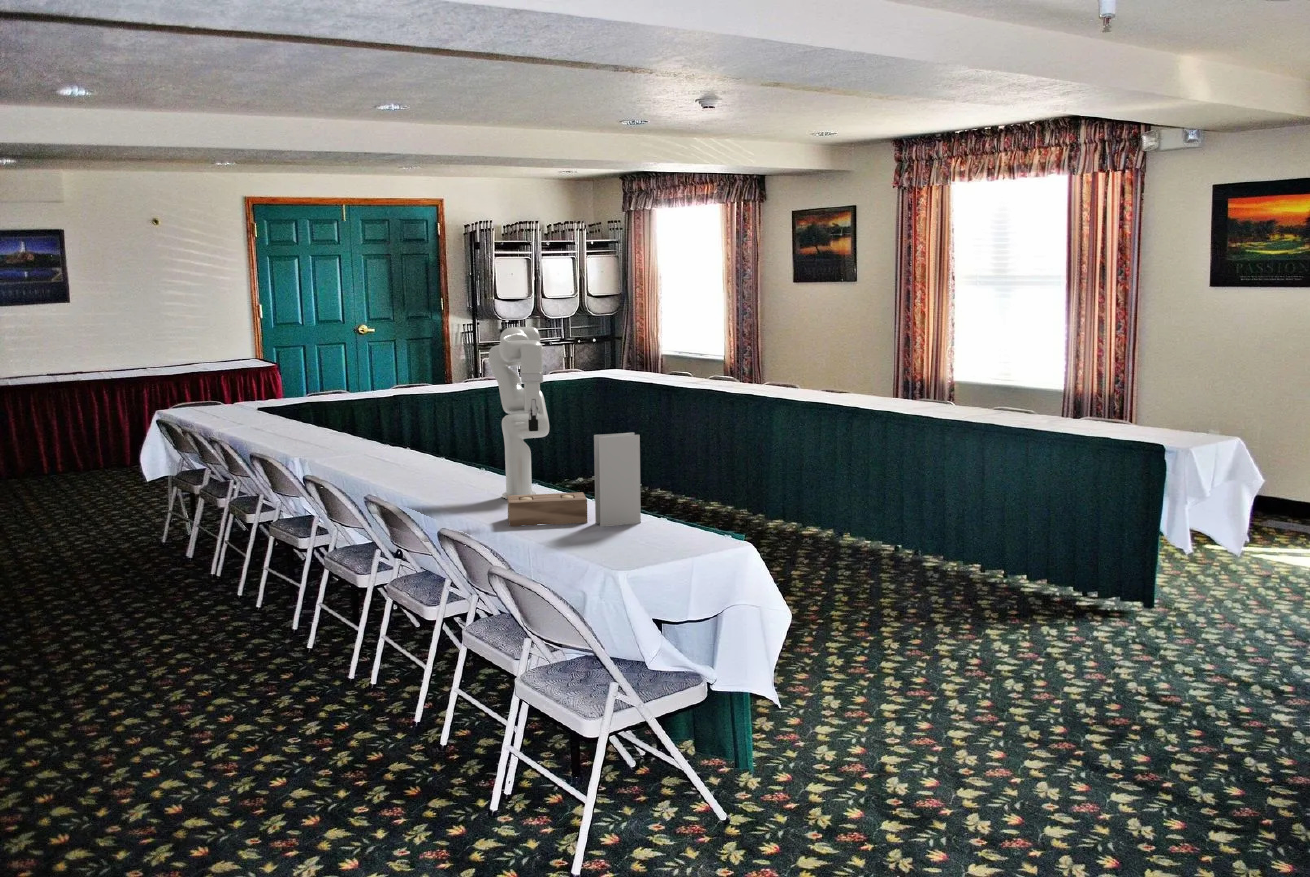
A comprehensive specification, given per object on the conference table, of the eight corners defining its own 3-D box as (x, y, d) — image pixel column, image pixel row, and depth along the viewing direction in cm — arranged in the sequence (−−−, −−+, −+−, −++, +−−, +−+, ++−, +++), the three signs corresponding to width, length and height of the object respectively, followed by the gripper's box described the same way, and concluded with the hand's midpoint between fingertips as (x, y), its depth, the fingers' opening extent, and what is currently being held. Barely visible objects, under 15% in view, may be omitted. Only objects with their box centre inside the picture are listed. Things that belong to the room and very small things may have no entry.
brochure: (635, 519, 374) (634, 432, 369) (640, 523, 369) (639, 434, 364) (595, 523, 369) (593, 435, 364) (600, 526, 364) (599, 437, 359)
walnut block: (508, 518, 377) (507, 495, 376) (583, 514, 382) (582, 492, 380) (509, 526, 365) (509, 503, 364) (587, 522, 370) (587, 499, 369)
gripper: (519, 376, 385) (521, 428, 388) (522, 380, 370) (524, 434, 373) (541, 375, 386) (542, 427, 389) (544, 380, 372) (546, 433, 374)
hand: (533, 430), depth 381 cm, fingers closed
